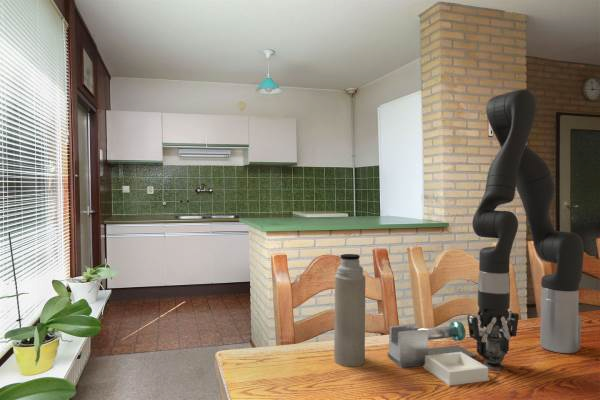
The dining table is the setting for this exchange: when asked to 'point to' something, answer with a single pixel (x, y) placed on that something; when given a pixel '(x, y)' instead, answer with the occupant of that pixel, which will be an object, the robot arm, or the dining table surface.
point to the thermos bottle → (349, 312)
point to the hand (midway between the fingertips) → (492, 353)
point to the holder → (456, 368)
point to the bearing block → (415, 346)
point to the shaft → (447, 332)
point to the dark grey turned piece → (494, 351)
